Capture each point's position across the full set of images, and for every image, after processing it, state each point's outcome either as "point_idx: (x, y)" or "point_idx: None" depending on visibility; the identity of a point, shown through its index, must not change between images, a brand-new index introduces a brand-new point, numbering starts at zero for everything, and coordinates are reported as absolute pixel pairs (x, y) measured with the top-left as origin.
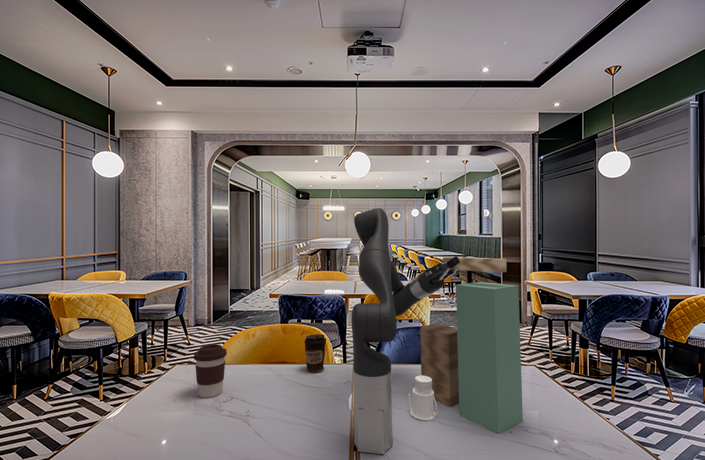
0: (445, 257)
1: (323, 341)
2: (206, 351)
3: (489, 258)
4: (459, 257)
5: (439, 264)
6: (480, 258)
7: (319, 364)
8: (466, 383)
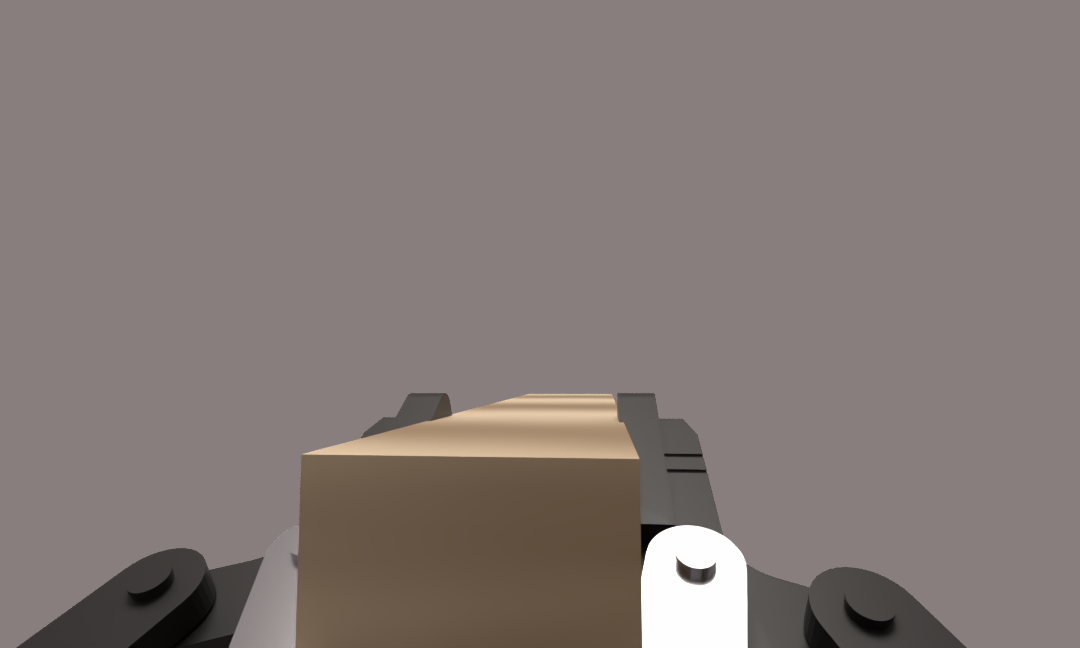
0: (596, 448)
1: None
2: None
3: (545, 398)
4: (450, 423)
5: (907, 620)
6: (586, 400)
7: None
8: None
